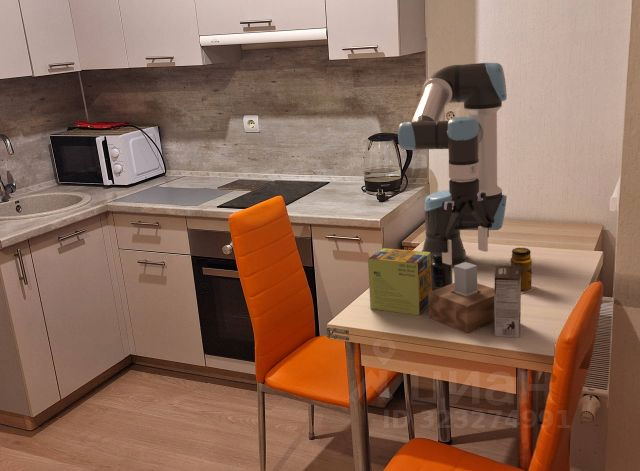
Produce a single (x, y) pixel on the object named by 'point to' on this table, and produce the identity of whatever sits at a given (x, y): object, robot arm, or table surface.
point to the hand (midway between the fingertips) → (465, 256)
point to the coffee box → (507, 301)
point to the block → (462, 308)
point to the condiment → (523, 267)
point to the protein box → (400, 280)
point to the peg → (465, 279)
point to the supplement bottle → (440, 272)
